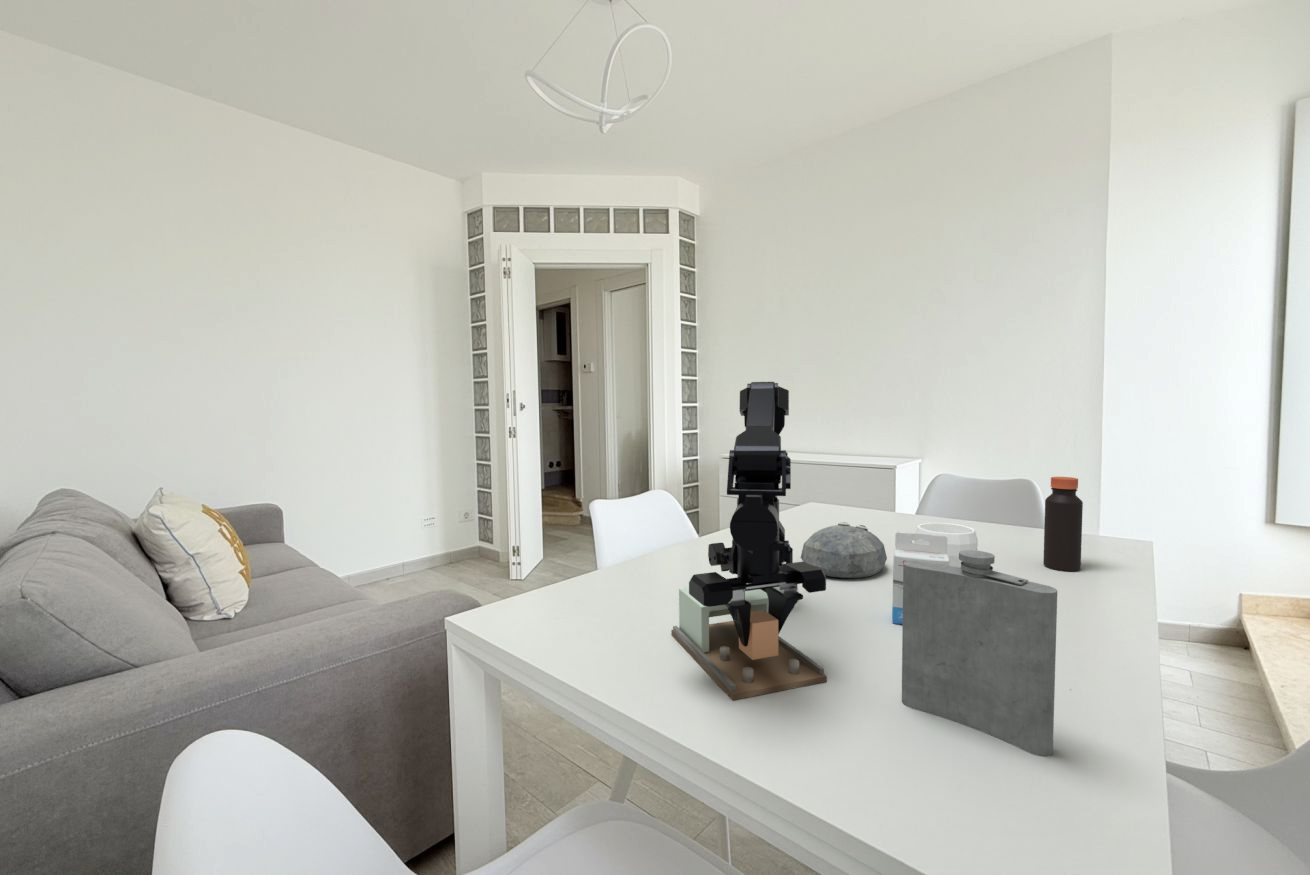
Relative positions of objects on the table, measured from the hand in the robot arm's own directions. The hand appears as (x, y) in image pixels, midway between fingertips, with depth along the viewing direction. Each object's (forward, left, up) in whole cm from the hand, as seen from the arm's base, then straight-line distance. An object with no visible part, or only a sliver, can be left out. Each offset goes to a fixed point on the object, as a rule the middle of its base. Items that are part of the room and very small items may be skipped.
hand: (758, 642), depth 80 cm
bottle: (-87, -20, -4) cm, 89 cm away
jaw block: (0, 0, -1) cm, 1 cm away
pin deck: (0, -5, -4) cm, 6 cm away
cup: (-61, -27, -4) cm, 67 cm away
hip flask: (-17, +20, -4) cm, 27 cm away
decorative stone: (-42, -37, -4) cm, 56 cm away
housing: (0, -10, -4) cm, 11 cm away
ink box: (-34, -6, -4) cm, 35 cm away
